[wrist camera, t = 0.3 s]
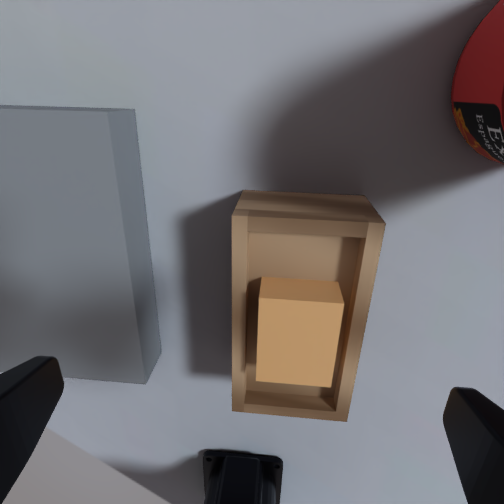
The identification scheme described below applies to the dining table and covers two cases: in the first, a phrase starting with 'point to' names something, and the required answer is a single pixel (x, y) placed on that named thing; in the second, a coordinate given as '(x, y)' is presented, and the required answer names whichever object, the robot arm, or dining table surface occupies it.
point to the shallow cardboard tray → (301, 267)
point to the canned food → (482, 87)
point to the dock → (75, 244)
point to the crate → (298, 331)
